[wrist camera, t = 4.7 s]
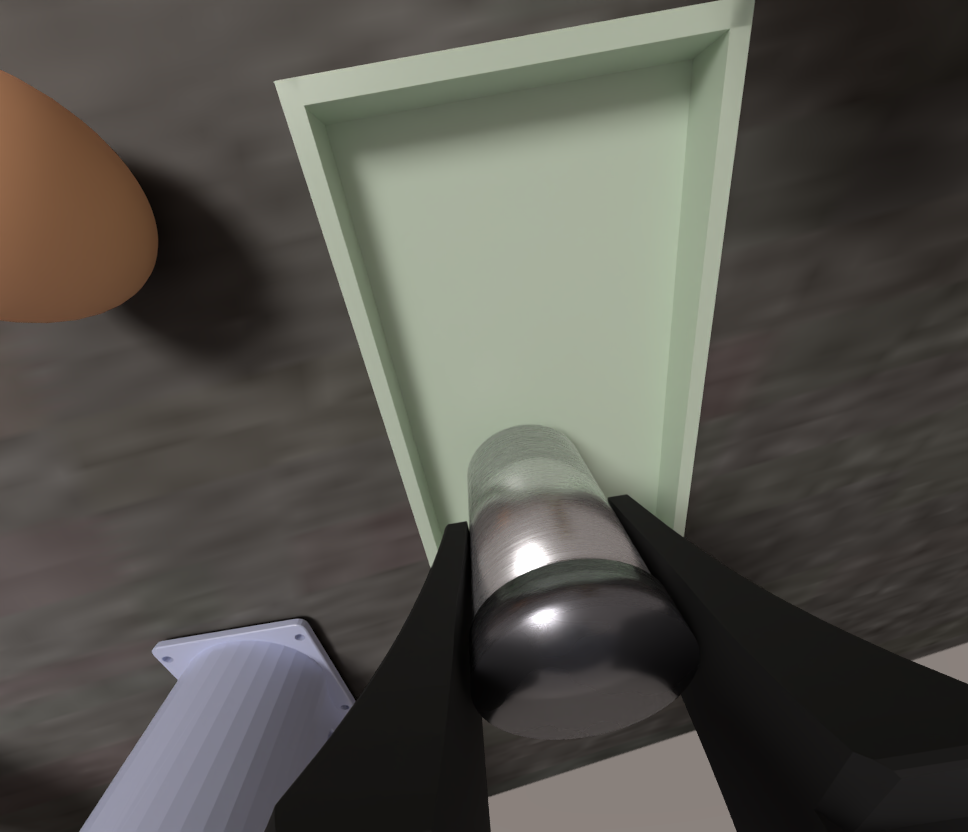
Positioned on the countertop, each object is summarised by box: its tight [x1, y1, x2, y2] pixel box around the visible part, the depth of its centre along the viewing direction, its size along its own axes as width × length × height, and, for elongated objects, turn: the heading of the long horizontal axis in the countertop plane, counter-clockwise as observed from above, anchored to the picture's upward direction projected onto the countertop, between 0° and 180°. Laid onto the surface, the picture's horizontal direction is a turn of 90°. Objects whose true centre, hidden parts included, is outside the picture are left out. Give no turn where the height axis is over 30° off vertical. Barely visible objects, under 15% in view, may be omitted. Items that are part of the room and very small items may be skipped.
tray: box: [274, 0, 755, 567], centre depth 12 cm, size 17×11×2 cm, turn 9°
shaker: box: [467, 424, 700, 740], centre depth 10 cm, size 5×5×7 cm
